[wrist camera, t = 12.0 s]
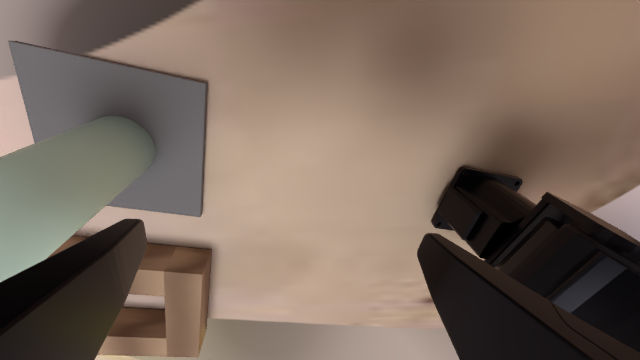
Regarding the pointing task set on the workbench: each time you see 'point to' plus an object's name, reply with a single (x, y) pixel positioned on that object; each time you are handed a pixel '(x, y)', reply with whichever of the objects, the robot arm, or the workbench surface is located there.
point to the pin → (65, 186)
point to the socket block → (180, 304)
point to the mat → (129, 102)
